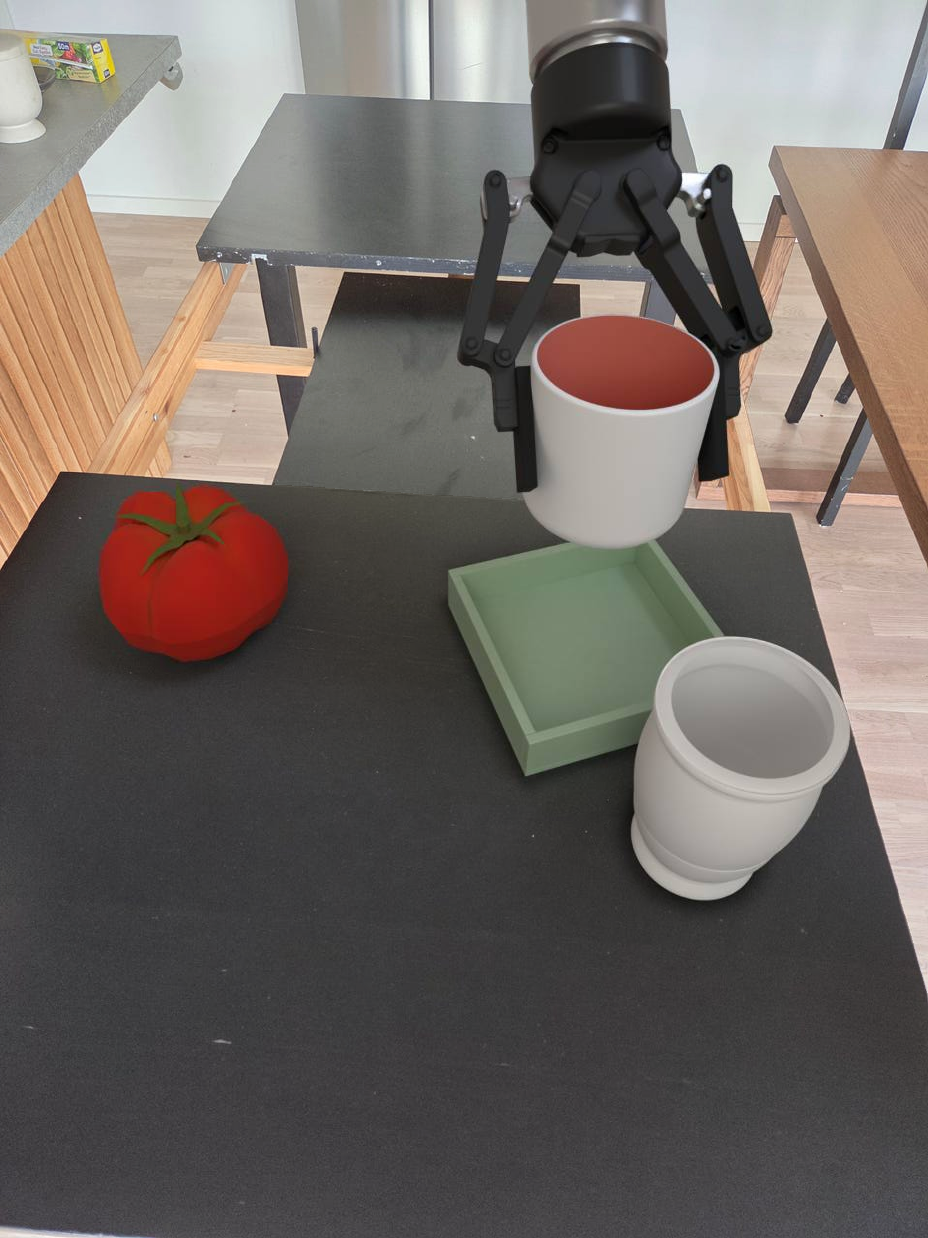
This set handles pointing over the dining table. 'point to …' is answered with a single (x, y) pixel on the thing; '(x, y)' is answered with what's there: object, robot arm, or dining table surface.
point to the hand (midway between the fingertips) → (621, 484)
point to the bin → (574, 643)
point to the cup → (617, 427)
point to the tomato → (191, 572)
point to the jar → (731, 762)
